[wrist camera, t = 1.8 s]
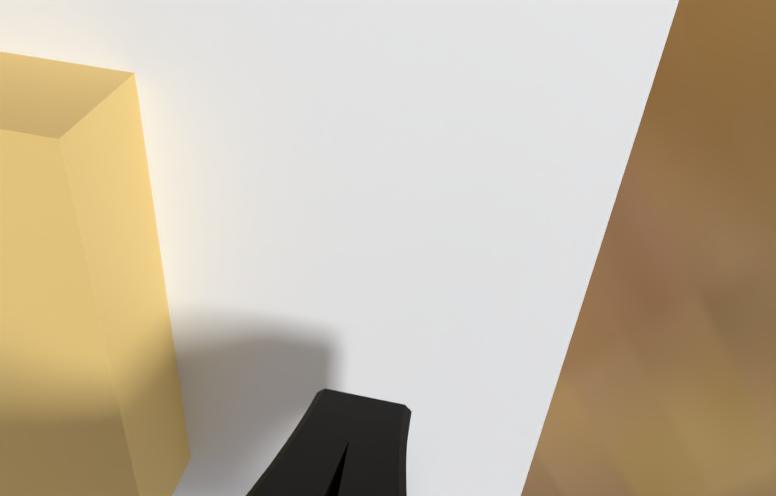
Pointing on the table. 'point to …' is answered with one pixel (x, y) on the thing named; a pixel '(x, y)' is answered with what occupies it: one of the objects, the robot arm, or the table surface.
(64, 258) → the yellow rectangular block
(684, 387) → the table surface
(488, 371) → the white box
